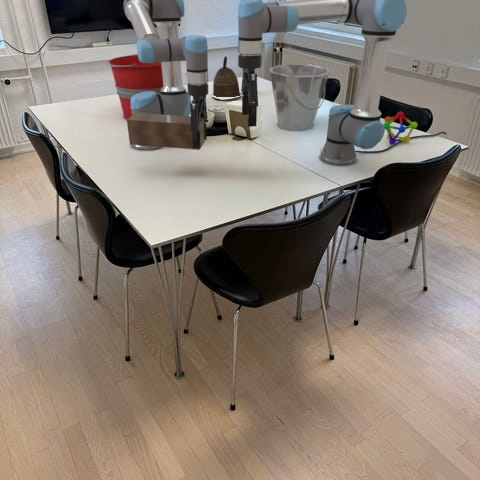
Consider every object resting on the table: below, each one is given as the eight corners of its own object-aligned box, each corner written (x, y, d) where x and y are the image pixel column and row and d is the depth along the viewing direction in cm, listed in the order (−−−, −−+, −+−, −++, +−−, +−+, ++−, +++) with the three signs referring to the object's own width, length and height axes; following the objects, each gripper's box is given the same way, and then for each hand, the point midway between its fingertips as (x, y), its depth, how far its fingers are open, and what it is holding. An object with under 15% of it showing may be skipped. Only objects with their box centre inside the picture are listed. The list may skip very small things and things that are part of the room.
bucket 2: (296, 138, 215) (301, 78, 201) (255, 124, 234) (256, 68, 219) (335, 125, 232) (342, 70, 217) (294, 113, 251) (297, 61, 236)
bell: (227, 105, 294) (202, 96, 282) (238, 66, 289) (213, 55, 277) (243, 108, 280) (217, 98, 268) (255, 66, 275) (229, 55, 263)
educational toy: (377, 146, 209) (379, 114, 202) (384, 138, 219) (386, 107, 211) (411, 149, 202) (415, 116, 195) (417, 141, 212) (420, 109, 204)
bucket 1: (123, 106, 262) (116, 51, 247) (182, 106, 262) (178, 52, 246) (106, 123, 233) (97, 63, 217) (172, 124, 232) (168, 64, 216)
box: (205, 141, 174) (204, 117, 169) (199, 150, 167) (198, 124, 161) (138, 136, 178) (135, 112, 173) (129, 144, 171) (126, 119, 165)
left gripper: (195, 75, 168) (197, 133, 180) (178, 90, 149) (182, 153, 162) (214, 76, 166) (215, 134, 179) (200, 91, 148) (202, 154, 161)
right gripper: (269, 61, 131) (266, 131, 142) (254, 47, 152) (253, 109, 163) (244, 61, 130) (243, 132, 141) (233, 48, 151) (233, 110, 162)
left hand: (200, 143), depth 170 cm, fingers closed on box, 9 cm apart
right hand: (248, 120), depth 152 cm, fingers open, 13 cm apart
